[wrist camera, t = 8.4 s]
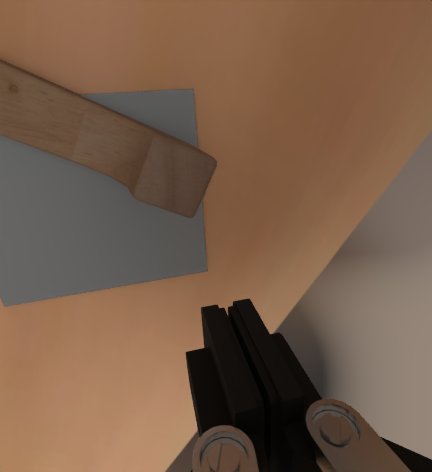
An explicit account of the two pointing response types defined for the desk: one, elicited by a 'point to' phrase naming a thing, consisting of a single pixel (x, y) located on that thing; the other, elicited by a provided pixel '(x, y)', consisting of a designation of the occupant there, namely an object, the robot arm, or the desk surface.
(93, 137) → the wooden block
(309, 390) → the robot arm
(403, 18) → the desk surface
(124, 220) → the mat
